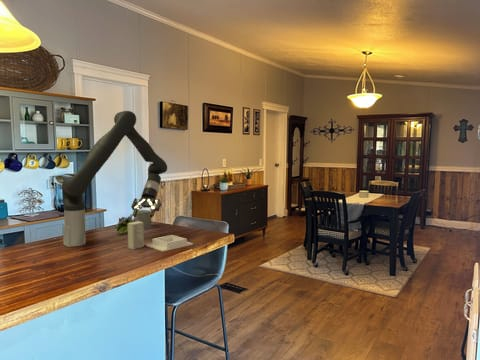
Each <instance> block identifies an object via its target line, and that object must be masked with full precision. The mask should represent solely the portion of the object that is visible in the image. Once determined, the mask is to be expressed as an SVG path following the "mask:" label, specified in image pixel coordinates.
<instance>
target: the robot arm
mask: <svg viewBox="0 0 480 360" xmlns="http://www.w3.org/2000/svg"><path fill="white" fill-rule="evenodd" d="M113 122H114V125H113V126H112V127H111V129H110V130H108V132H106V133H105V134H104V135H102V136H101V137H100V138H99V139H98V140H97V141H96V142H95V144H94V145H93V146H92V147H91V149H90V150H89V151H88V153H87V156H86V158H85V160H84V163H83V165H82V166H81V168H80V169H79V170H78V172H76V174H75V175H74V176H71V175H70V176H68V177H66V178H65V179H64V180H63V181H62V185H61V194H62V205H63V210H64V211H63V212H64V218H63V219H64V221H63V222H64V225H62V234H63V235H62V237H63V241H62V242H63V243H62V244H63V245H64V246H66V247H68V248H70V247H71V248H72V247H80V246H85V245H86V243H87V242H86V241H87V239H86V204H85V202H84V198H83V194H85V192H86V191H87V189H88V187H89V185H90V184H91V182H92V180H93V179H94V178H95V176H96V175H97V174H98V173H99V171H100V170H101V169H102V167H103V166H104V165H105V163H106V162H107V161H108V160H109V158H110V157H111V156H112V154H113V153H114V151H115V150H116V149H117V147H118V146H119V145H120V143H121V142H122V140H123V139H124V137H127V139H128V140H129V141H130V142H131V143H132V145H133V146H134V148H135V149H136V150H137V151H138V153H139V154H140V156H141V157H142V159H143V160H144V161H145V162H146V163H150V164H149V166H148V168H147V179H146V182H145V184H144V187H143V190H142V192H141V196H140V197H141V198H139V199H138V198H134V199H133V201H132V203H131V206H130V207H131V209H132V214H133V216H132V217H133V218H134V217H136V215H137V212H138V210H143V209H145V208H147V209H149V208H150V211H151V213H150V217H151V219H152V218H153V217H154V216H155V213H156V212H159V211H160V209H161V204H162V202H161V199H160V198H158V199H157V196H158V193H159V191H160V190H159V189H160V186H161V182H162V178H161V175H162V174H164V173H166V172H167V171H168V165H167V162H166V161H165V160H164V159H163V158H162V157H160V156H159V155H158V154H157V153H156V152H155V151H154V149H153V148H152V145H150V143H149V142H147V140H146V139H145V138H144V137H143V136H141V134H140V133H139V132H138V131H137V130H136V129H137V128H135V125H136V124H137V116H136V114H135V112H133V111H131V110H124V111H123V110H122V111H119V112H117V113H116V114H115V115H114V118H113ZM154 204H156V205H155V206H154Z"/></svg>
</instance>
